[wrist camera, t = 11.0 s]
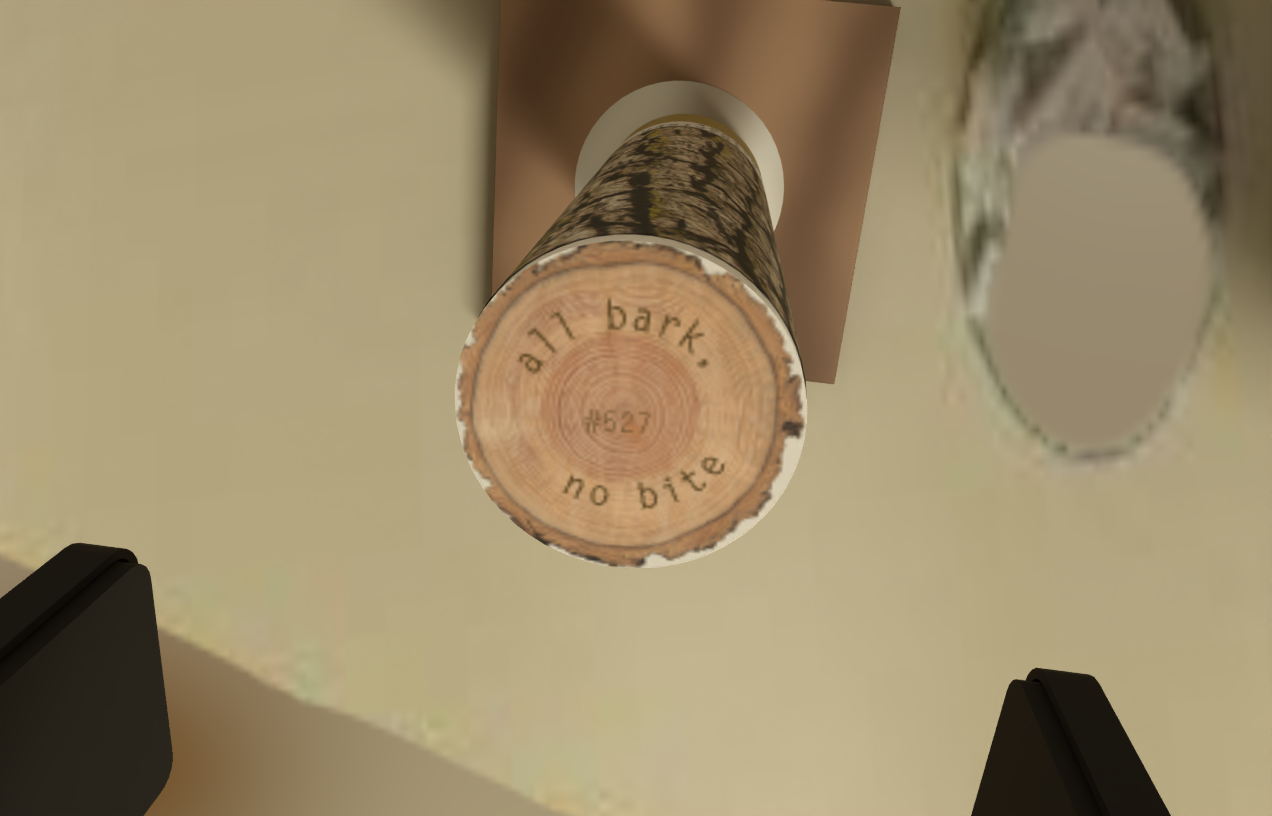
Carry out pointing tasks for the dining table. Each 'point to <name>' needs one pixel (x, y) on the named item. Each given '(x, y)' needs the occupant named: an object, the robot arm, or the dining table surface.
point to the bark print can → (642, 360)
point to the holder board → (711, 87)
